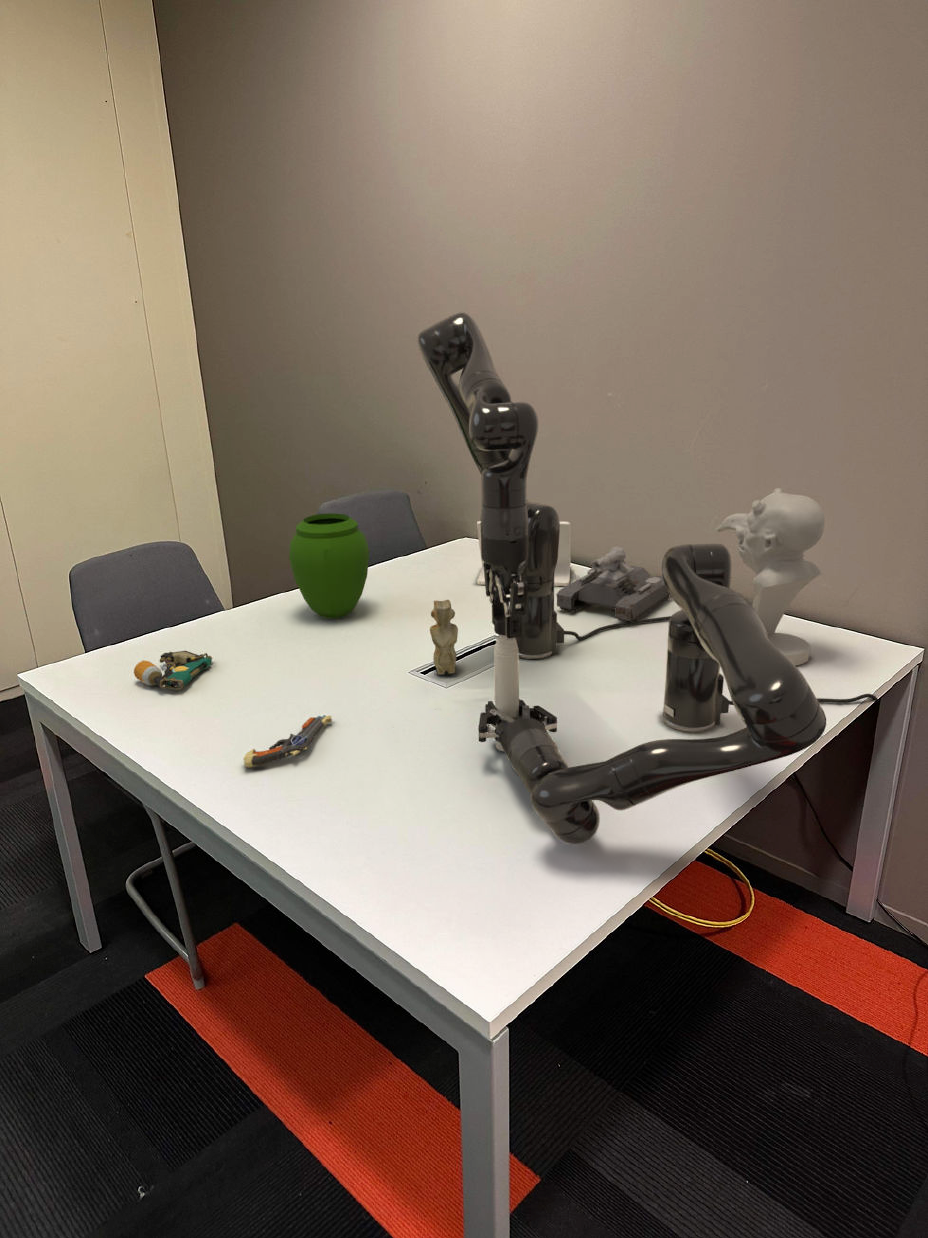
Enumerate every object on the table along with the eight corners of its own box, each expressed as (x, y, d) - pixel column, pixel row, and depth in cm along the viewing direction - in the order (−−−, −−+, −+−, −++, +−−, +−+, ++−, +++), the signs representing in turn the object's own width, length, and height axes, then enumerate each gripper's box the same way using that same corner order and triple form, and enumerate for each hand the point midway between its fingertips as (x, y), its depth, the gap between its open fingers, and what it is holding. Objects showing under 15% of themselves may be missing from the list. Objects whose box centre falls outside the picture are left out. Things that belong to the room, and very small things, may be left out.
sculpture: (458, 662, 183) (456, 596, 178) (460, 676, 176) (457, 608, 171) (431, 663, 183) (428, 597, 177) (431, 677, 176) (428, 609, 171)
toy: (603, 584, 229) (605, 530, 224) (673, 597, 218) (677, 540, 213) (555, 612, 210) (556, 553, 205) (630, 627, 199) (633, 566, 194)
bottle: (514, 738, 151) (513, 614, 143) (522, 749, 148) (522, 623, 139) (492, 742, 150) (490, 617, 142) (500, 753, 146) (498, 626, 138)
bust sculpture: (744, 623, 200) (759, 474, 187) (830, 658, 180) (852, 494, 167) (692, 637, 193) (703, 483, 180) (775, 674, 173) (793, 504, 160)
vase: (389, 608, 216) (383, 514, 208) (339, 633, 201) (330, 533, 192) (330, 596, 226) (322, 506, 218) (278, 619, 211) (267, 523, 202)
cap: (491, 628, 143) (491, 615, 142) (513, 625, 144) (513, 612, 143) (498, 636, 139) (498, 623, 138) (521, 633, 140) (521, 620, 139)
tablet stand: (569, 585, 229) (570, 524, 223) (476, 584, 232) (475, 523, 226) (570, 566, 246) (571, 508, 240) (484, 564, 249) (483, 507, 243)
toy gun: (238, 757, 142) (294, 755, 140) (282, 713, 160) (332, 710, 158) (241, 772, 143) (297, 770, 141) (284, 726, 161) (334, 724, 159)
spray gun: (177, 659, 191) (231, 671, 185) (120, 684, 176) (176, 698, 171) (176, 641, 190) (230, 653, 184) (118, 665, 175) (174, 678, 169)
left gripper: (467, 523, 141) (469, 619, 146) (498, 545, 128) (500, 649, 134) (509, 519, 143) (510, 613, 149) (544, 540, 130) (544, 642, 136)
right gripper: (487, 778, 133) (463, 728, 149) (574, 766, 136) (541, 718, 152) (486, 735, 131) (462, 689, 146) (575, 724, 133) (542, 679, 149)
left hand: (505, 630), depth 141 cm, fingers open, 5 cm apart
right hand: (503, 704), depth 149 cm, fingers closed on bottle, 4 cm apart
